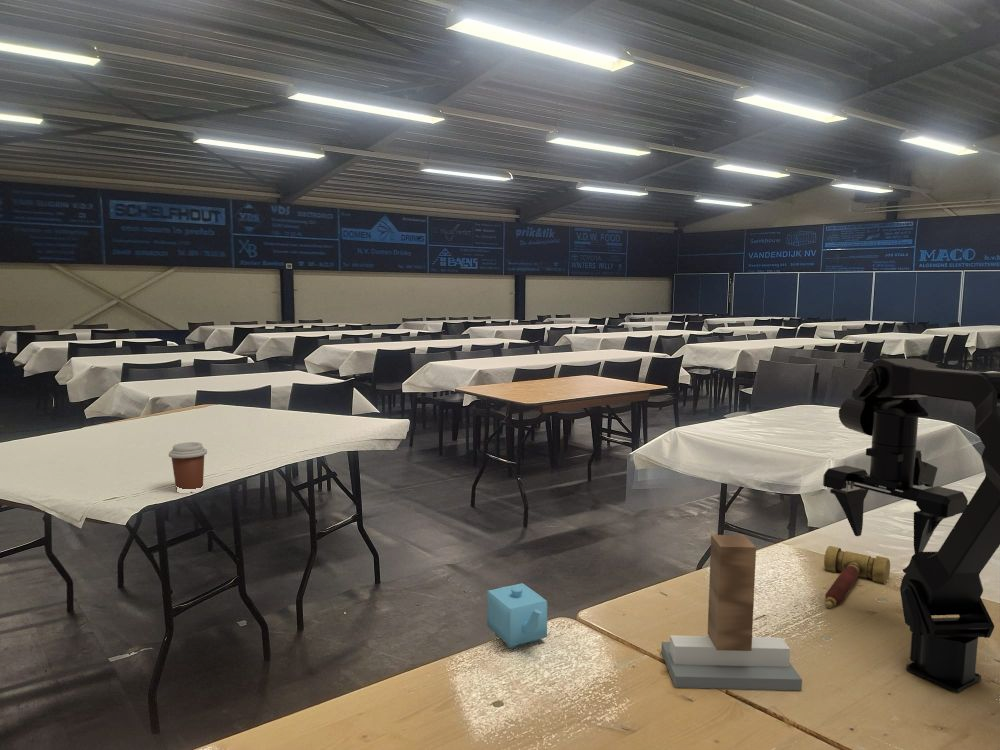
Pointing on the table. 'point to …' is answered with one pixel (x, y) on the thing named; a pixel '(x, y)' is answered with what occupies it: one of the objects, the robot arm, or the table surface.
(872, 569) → the gavel
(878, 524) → the table surface
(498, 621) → the teapot
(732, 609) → the walnut post
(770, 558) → the table surface
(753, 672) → the ridge board
